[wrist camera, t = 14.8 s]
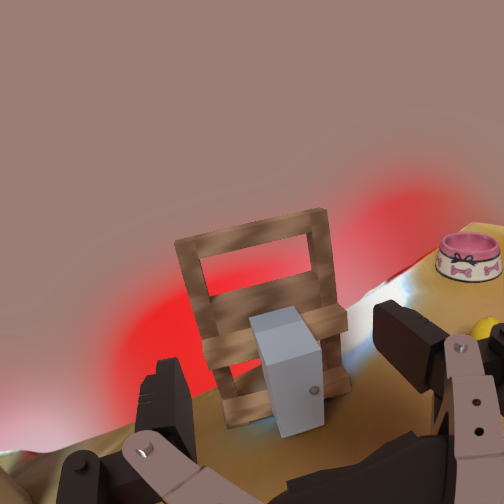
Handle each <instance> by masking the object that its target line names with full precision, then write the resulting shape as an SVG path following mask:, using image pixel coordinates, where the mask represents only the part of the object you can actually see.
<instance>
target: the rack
mask: <svg viewBox="0 0 504 504" xmlns="http://www.w3.org/2000/svg"><path fill="white" fill-rule="evenodd" d="M302 234H306V235H307V241H308V248H309V255H310V262H311V269H312V270H311V271H308V272H304V273H300V274H297V275H293V276H289V277H285V278H281V279H278V280H274V281H270V282H266V283H262V284H259V285H254V286H251V287H247V288H242V289H238V290H235V291H231V292H226V293H222V294H218V295H214V296H210V297H209V293H208V290H207V286H206V282H205V278H204V274H203V270H202V267H201V263H200V259H201V258H205V257H210V256H214V255H218V254H222V253H226V252H230V251H234V250H239V249H242V248H247V247H251V246H255V245H259V244H263V243H268V242H272V241H276V240H281V239H285V238H289V237H293V236H297V235H302ZM174 246H175V249H176V253H177V256H178V260H179V264H180V268H181V272H182V275H183V279H184V282H185V286H186V289H187V293H188V296H189V300H190V303H191V306H192V310H193V312H194V316H195V319H196V323H197V326H198V329H199V332H200V335H201V339H202V347H203V353H204V357H205V360H206V362H207V365H208V368H209V370H212V372H213V375H214V378H215V380H216V383H217V386H218V389H219V392H220V395H221V401H222V407H223V413H224V419H225V424H226V427H227V429H230V428H235V427H239V426H243V425H247V424H250V421H254V420H257V419H261V418H265V417H269V416H272V415H273V412H272V409H271V405H270V401H269V396H268V392H267V389H266V390H262V391H259V392H255V393H251V394H247V395H242V392H241V391H237V390H236V386H235V383H234V380H233V377H232V373H231V370H230V367H229V366H230V365H234V364H238V363H241V362H246V361H249V360H253V359H257V358H260V356H259V352H258V347H257V343H256V341H255V338H254V335H253V332H252V330H251V326H250V321H249V317H253V316H257V315H261V314H264V313H268V312H272V311H276V310H279V309H283V308H287V307H290V306H294V307H295V309H296V310H297V312H298V313H299V315H300V316H301V318H302V320H303V321H304V323H305V324H306V326H307V327H308V329H309V330H310V332H311V334H312V335H313V337H314V338H315V340H316V341H318V340H320V344H321V349H322V365H323V367H322V368H323V392H324V399H326V398H329V397H330V398H331V399H332V398H335V397H338V396H341V395H343V394H346V393H348V392H351V391H352V386H351V384H350V376H349V374H348V373H347V372H346V370H345V369H344V368H343V366H342V362H341V344H340V333H342V332H345V331H348V321H347V311H346V310H345V309H344V308H342V307H341V306H340V305H339V304H338V303H337V293H336V283H335V272H334V264H333V254H332V246H331V238H330V230H329V223H328V216H327V210H326V209H323V208H315V209H310V210H305V211H301V212H296V213H292V214H287V215H283V216H278V217H274V218H269V219H265V220H260V221H256V222H251V223H247V224H243V225H239V226H234V227H230V228H226V229H221V230H217V231H213V232H209V233H204V234H200V235H196V236H192V237H188V238H184V239H180V240H176V241H175V244H174Z"/></svg>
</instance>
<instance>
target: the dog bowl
mask: <svg viewBox="0 0 504 504" xmlns="http://www.w3.org/2000/svg"><path fill="white" fill-rule="evenodd" d="M435 267H436V270H437V271H438V272H439V273H440V274H441V275H442V276H444V277H446V278H448V279H451V280H455V281H459V282H466V283H480V282H486V281H490V280H493V279H495V278H497V277H499V276H500V275H501V273H502V271H503V268H502V262H501V255H500V248H499V243H498V241H497V240H496V239H495V238H493V237H491V236H489V235H486V234H481V233H474V232H460V233H453V234H449V235H447V236H445V237H444V238H443V239H442V241H441V244H440V247H439V253H438V256H437V261H436V265H435Z"/></svg>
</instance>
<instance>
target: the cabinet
mask: <svg viewBox="0 0 504 504" xmlns="http://www.w3.org/2000/svg"><path fill="white" fill-rule="evenodd" d="M249 321H250V326H251V330H252V332H253V335H254V338H255V341H256V343H257V347H258V352H259V356H260V360H261V365H262V370H263V374H264V379H265V383H266V387H267V392H268V396H269V401H270V405H271V409H272V412H273V415H274V417H275V420H276V423H277V426H278V429H279V432H280V434H281V437H282V438H285V437H288V436H292V435H295V434H298V433H301V432H304V431H308V430H311V429H314V428H316V427H319V426H322V425H324V392H323V368H322V349H321V348H320V346H319V344H318V343H317V341H316V340H315V338H314V337H313V335H312V334H311V332H310V330H309V329H308V327H307V326H306V324H305V323H304V321H303V320H302V318H301V316H300V315H299V313H298V312H297V310H296V309H295V307H294V306H290V307H287V308H283V309H279V310H276V311H272V312H268V313H264V314H261V315H257V316H253V317H249Z"/></svg>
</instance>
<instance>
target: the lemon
mask: <svg viewBox="0 0 504 504" xmlns="http://www.w3.org/2000/svg"><path fill="white" fill-rule="evenodd" d="M498 323H500V322H499V321H498V320H497V319H496V318H493V317H492V316H489V317H485V318H482V319H480V320H479V321H478V322H477V323H476V324H475V325H474V327H473V329H472V331H471V333H470V336H471V337H473V338H474V339H475V340H476V341H477V340H480V339H484V338H488V337H489V336H490V332H491V328H492V327H493V326H494V325H495V324H498Z"/></svg>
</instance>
